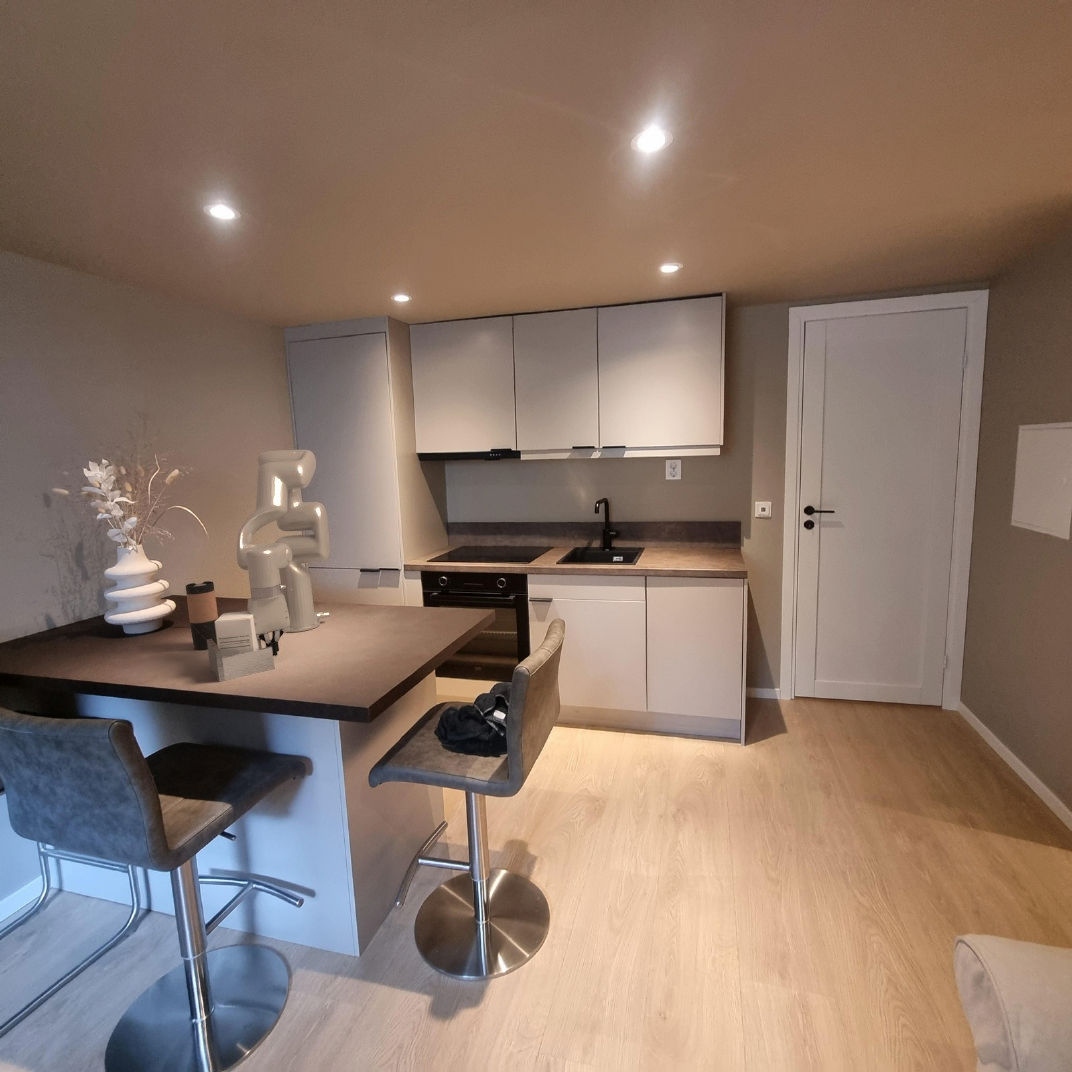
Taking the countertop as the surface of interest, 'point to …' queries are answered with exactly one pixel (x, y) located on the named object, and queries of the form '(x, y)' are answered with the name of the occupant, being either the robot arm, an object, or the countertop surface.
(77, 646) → the countertop surface
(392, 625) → the countertop surface
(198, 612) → the travel mug
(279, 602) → the robot arm
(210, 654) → the bracket
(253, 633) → the supplement box
